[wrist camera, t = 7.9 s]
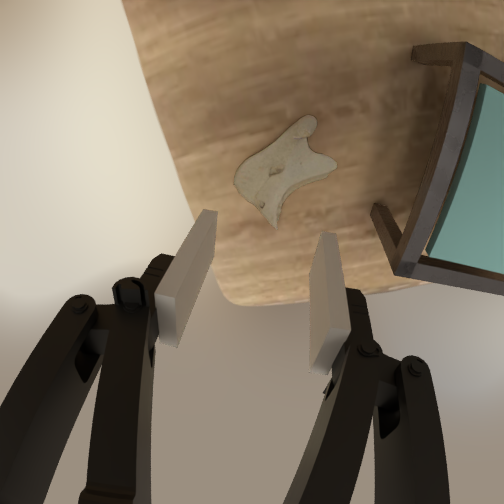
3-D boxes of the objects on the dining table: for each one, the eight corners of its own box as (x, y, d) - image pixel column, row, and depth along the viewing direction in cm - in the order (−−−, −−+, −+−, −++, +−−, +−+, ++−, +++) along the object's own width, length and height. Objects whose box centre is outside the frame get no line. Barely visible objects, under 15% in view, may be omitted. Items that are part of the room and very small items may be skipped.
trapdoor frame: (543, 115, 21) (602, 143, 12) (495, 248, 31) (533, 301, 23) (413, 45, 22) (466, 41, 13) (370, 215, 32) (394, 275, 23)
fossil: (351, 156, 29) (357, 166, 26) (274, 220, 34) (271, 236, 31) (304, 105, 27) (305, 109, 24) (227, 177, 32) (220, 189, 29)
